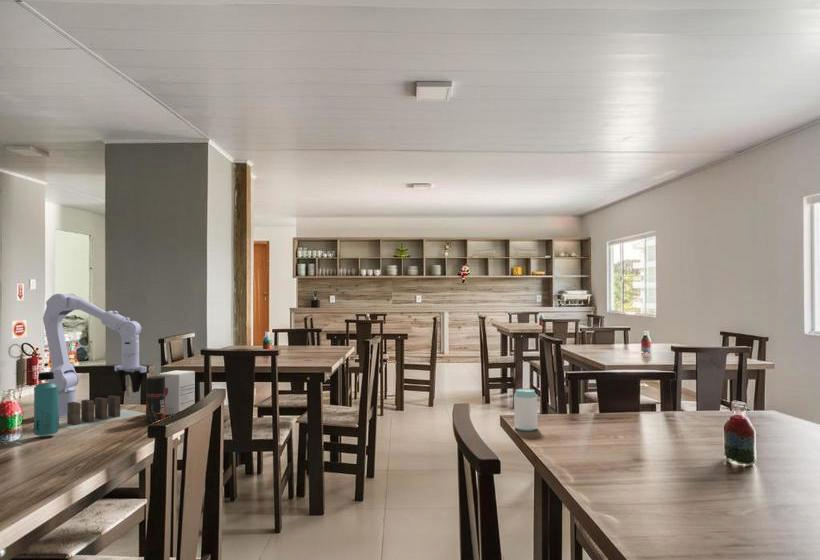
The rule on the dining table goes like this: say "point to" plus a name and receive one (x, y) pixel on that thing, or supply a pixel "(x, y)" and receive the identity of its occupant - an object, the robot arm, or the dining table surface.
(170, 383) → the supplement box
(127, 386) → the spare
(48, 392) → the beverage bottle
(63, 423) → the mat
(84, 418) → the tile
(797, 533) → the dining table surface
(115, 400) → the tile
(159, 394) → the deodorant
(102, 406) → the tile
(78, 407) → the tile
